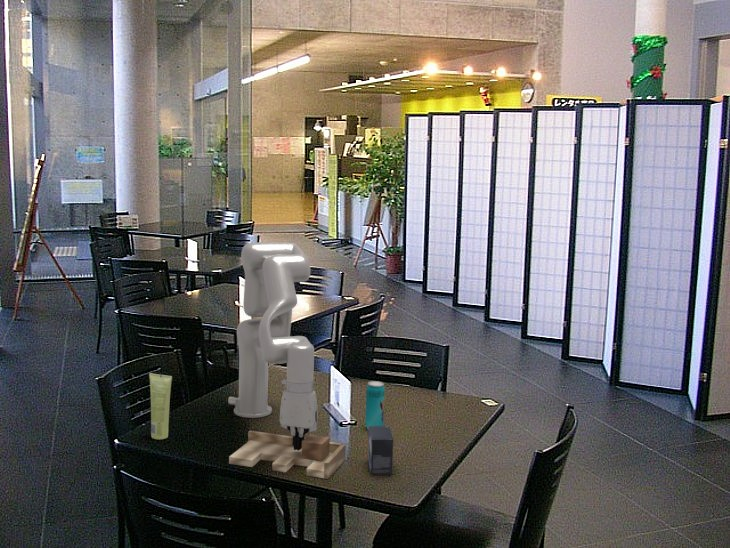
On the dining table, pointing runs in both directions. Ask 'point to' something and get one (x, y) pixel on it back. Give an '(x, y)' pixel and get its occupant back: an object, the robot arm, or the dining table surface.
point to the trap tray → (285, 454)
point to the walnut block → (315, 447)
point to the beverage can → (375, 404)
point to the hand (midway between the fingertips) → (298, 448)
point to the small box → (380, 450)
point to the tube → (160, 405)
